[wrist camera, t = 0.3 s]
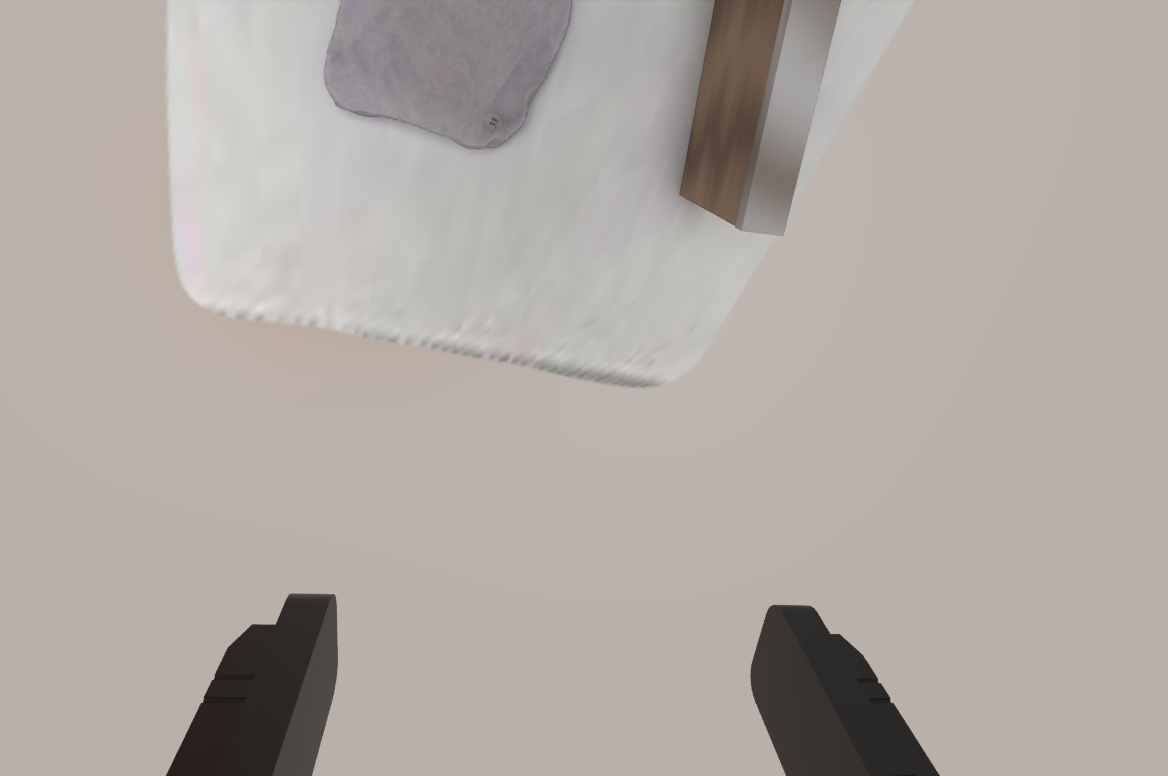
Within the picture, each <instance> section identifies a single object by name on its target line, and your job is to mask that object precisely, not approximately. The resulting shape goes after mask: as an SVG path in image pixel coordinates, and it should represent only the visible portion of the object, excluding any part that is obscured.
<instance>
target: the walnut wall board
mask: <svg viewBox="0 0 1168 776" xmlns="http://www.w3.org/2000/svg"><path fill="white" fill-rule="evenodd" d="M840 3H841V0H715V5H714V10H713V16H712V21H711V27H710V32H709V37H708V43H707V48H706V54H705V59H704V65H703V70H702V76H701V81H700V87H699V92H698V97H697V103H696V108H695V114H694V119H693V125H692V130H691V136H690V141H689V147H688V152H687V157H686V163H685V168H684V174H683V179H682V185H681V190H680V195H681V196H683V197H685V198H686V199H688V200H690V201H692V202H693V203H695V204H697V205H699V206H701V207H702V208H704V209H706V210H708V211H710V212H711V213H713V214H715V215H717V216H718V217H720V218H722V219H724V220H726V221H727V222H729V223H731V224H733V225H735V228H737V229H739V230H741V231H746V232H755V233H763V234H771V235H779V236H783V235H784V231H785V227H786V223H787V219H788V215H789V211H790V207H791V203H792V199H793V195H794V190H795V186H796V182H797V178H798V174H799V170H800V166H801V162H802V158H803V154H804V150H805V146H806V142H807V138H808V133H809V129H810V125H811V121H812V117H813V113H814V109H815V105H816V101H817V97H818V93H819V89H820V85H821V81H822V76H823V72H824V68H825V64H826V60H827V56H828V52H829V48H830V44H831V40H832V36H833V32H834V28H835V24H836V19H837V15H838V11H839V7H840Z"/></svg>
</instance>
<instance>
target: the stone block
mask: <svg viewBox="0 0 1168 776" xmlns="http://www.w3.org/2000/svg"><path fill="white" fill-rule="evenodd" d="M570 13H571V0H341V2H340V6H339V10H338V14H337V20H336V26H335V29H334V32H333V35H332V38H331V41H330V44H329V47H328V50H327V58H326V63H325V69H324V76H325V85H326V87H327V90H328V92H329V94H330V95H331V97H332V99H333V100H334V102H335V104H336V106H338V107H340V108H341V109H345V110H349V111H351V112H354V113H356V114H359V115H363V116H368V117H372V116H383V117H386V118H392V119H394V120H400V121H402V122H405V123H409V124H412V125H414V126H418V127H421V128H424V129H426V130H428V131H430V132H433V133H436V134H439V135H443V136H447V137H449V138H450V139H452V140H454V141H455V142H456V143H458V144H460V145H462V146H464V147H466V148H471V149H480V148H483V147H488V148H495V147H499V146H500V145H502V144H503V143H504V142H505V141H506V140H508V139H509V138H510V137H511V136H513V134H514V133H515V132H516V131H517V130H519V129H520V128H521V126H522V124H523V122H524V120H525V117H526V115H527V109H528V106H529V104H530V102H531V100H532V99H533V97H534V95H535V93H536V91H537V89H538V88H539V86H540V85H541V84H542V82H543V81H544V79H545V78H546V75H547V72H548V70H549V68H550V66H551V64H552V62H553V61H554V59H555V56H556V54H557V52H558V50H559V46H560V44H561V42H562V40H563V37H564V35H565V32H566V30H567V27H568V24H569V21H570Z"/></svg>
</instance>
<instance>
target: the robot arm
mask: <svg viewBox="0 0 1168 776" xmlns="http://www.w3.org/2000/svg"><path fill="white" fill-rule="evenodd" d="M337 648H338V646H337V605H336V597H335V595H334V594H290V595H289V596H288V597H287V599H286V601H285V604H284V606H283V608H282V611H281V613H280V616H279V618H278V621H277V623H276V625H256V624H254V625H251V626H250V627H249V628H248V629H247V630H246V631H245V632H244V633H243V634H242V635H241V636H240V637H238V639H236V640H235V641H234V642H233V643H232V644H231V645H230V646H229V647H228V648H227V651H226V652H225V655H224V657H223V659H222V661H221V663H220V665H219V667H218V669H217V671H216V674H215V678H214V680H212V682H211V684H210V686H209V688H208V690H207V692H206V694H205V696H204V701H203V703H201V704H200V706H199V708H198V711H197V713H196V715H195V717H194V719H193V721H192V723H191V725H190V727H189V729H188V731H187V733H186V735H185V738H184V740H183V742H182V744H181V746H180V748H179V750H178V752H177V754H176V756H175V758H174V760H173V763H172V764H171V767H170V769H169V771H168V773H167V775H166V776H312V773H313V769H314V765H315V762H316V758H317V755H318V751H319V747H320V743H321V740H322V736H323V732H324V729H325V725H326V721H327V717H328V714H329V710H330V706H331V703H332V699H333V695H334V690H335V684H336V677H337V666H338V649H337ZM751 687H752V692H753V696H754V699H755V702H756V704H757V707H758V709H759V712H760V714H761V716H762V719H763V721H764V724H765V726H766V728H767V731H768V733H769V736H770V738H771V740H772V743H773V745H774V748H775V750H776V753H777V755H778V757H779V760H780V762H781V765H782V767H783V769H784V772H785V774H786V776H940V775H939V774H938V772H937V771H936V769H935V768H934V766H933V764H932V763H931V761H930V760H929V758H928V757H927V755H926V754H925V752H924V750H923V749H922V747H921V746H920V744H919V742H918V741H917V739H916V738H915V736H914V735H913V733H912V731H911V730H910V728H909V727H908V725H907V724H906V722H905V720H904V719H903V717H902V716H901V714H900V713H899V711H898V710H897V708H896V706H895V705H894V703H891V702H890V697H889V695H888V694H887V692H886V691H885V689H884V687H883V686H882V684H881V683H878V678H877V677H876V675H875V673H874V672H873V670H872V669H871V667H870V666H869V664H868V662H867V661H866V659H865V658H864V656H863V655H862V654H861V653H860V652H859V651H858V650H857V649H856V648H854V647H853V646H852V645H851V644H850V643H849V642H848V641H847V640H845V639H844V638H843V637H842V636H841V635H840V634H830V633H829V631H828V629H827V628H826V626H825V625H824V623H823V621H822V620H821V618H820V616H819V614H818V613H817V611H816V610H815V609H814V608H813V607H811V606H799V605H772V606H770V608H769V609H768V611H767V614H766V617H765V620H764V624H763V627H762V631H761V634H760V637H759V641H758V644H757V647H756V651H755V654H754V658H753V661H752V665H751Z"/></svg>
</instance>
